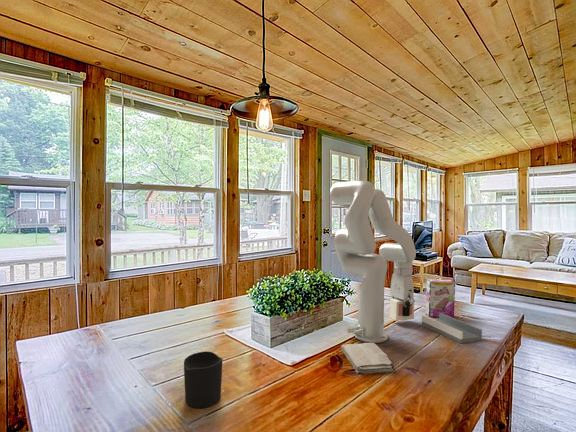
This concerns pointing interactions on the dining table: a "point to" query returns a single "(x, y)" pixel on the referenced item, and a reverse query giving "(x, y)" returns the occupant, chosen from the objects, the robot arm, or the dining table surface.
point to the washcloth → (367, 358)
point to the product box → (399, 310)
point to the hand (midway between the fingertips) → (401, 313)
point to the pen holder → (202, 379)
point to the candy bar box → (440, 297)
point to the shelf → (453, 328)
